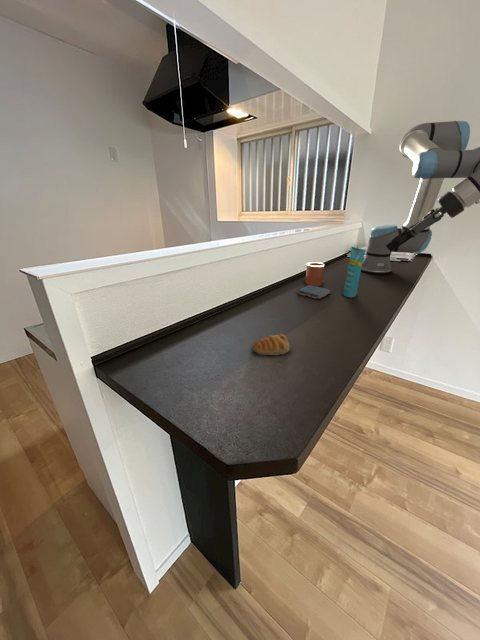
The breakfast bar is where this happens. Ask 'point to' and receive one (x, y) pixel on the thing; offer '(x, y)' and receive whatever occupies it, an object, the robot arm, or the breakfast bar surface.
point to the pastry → (272, 345)
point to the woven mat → (313, 291)
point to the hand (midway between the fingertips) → (390, 245)
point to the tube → (353, 272)
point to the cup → (314, 273)
